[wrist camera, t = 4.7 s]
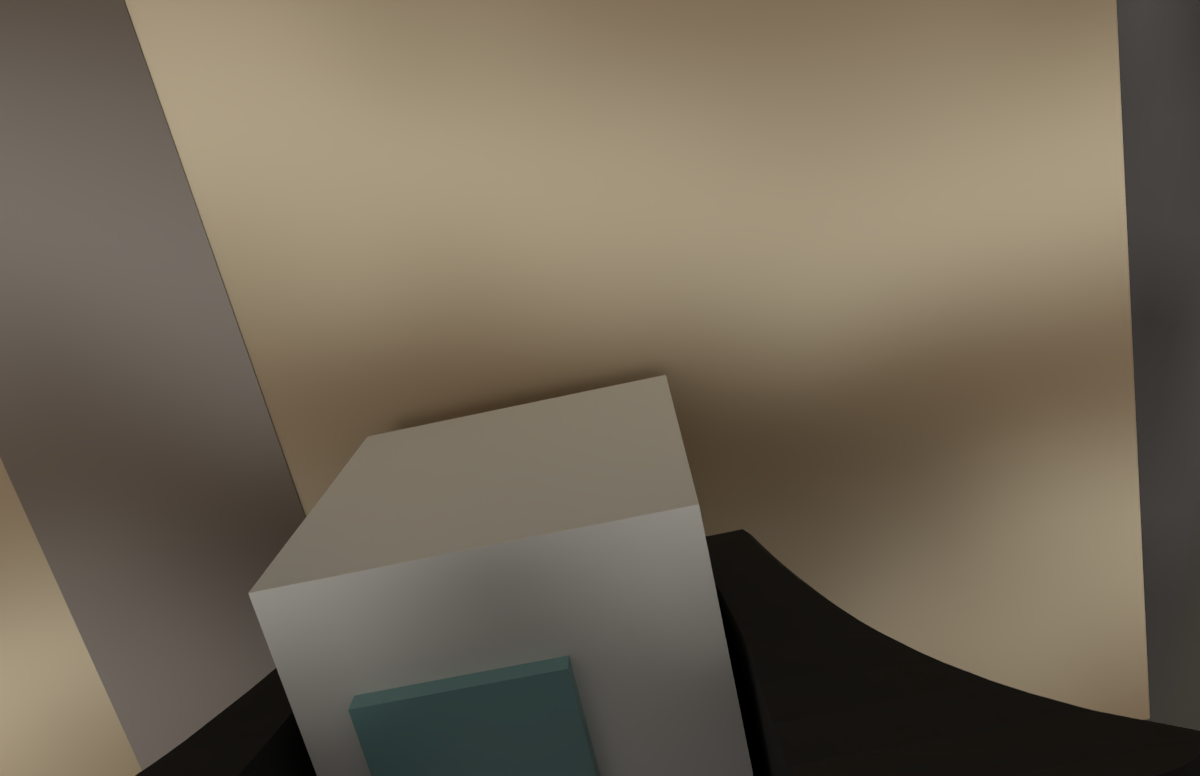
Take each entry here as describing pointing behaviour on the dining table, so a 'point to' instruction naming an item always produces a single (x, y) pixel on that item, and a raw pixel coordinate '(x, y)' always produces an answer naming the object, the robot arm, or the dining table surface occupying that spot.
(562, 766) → the block
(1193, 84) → the dining table surface
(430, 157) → the subfloor panel
